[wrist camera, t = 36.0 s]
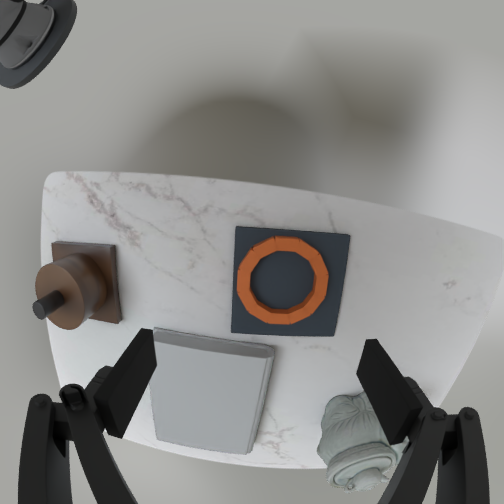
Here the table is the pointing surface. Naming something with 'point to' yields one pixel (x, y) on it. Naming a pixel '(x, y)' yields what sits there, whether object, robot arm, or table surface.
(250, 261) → the ring
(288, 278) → the mat
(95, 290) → the ring stand
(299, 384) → the table surface
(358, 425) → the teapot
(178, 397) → the book
